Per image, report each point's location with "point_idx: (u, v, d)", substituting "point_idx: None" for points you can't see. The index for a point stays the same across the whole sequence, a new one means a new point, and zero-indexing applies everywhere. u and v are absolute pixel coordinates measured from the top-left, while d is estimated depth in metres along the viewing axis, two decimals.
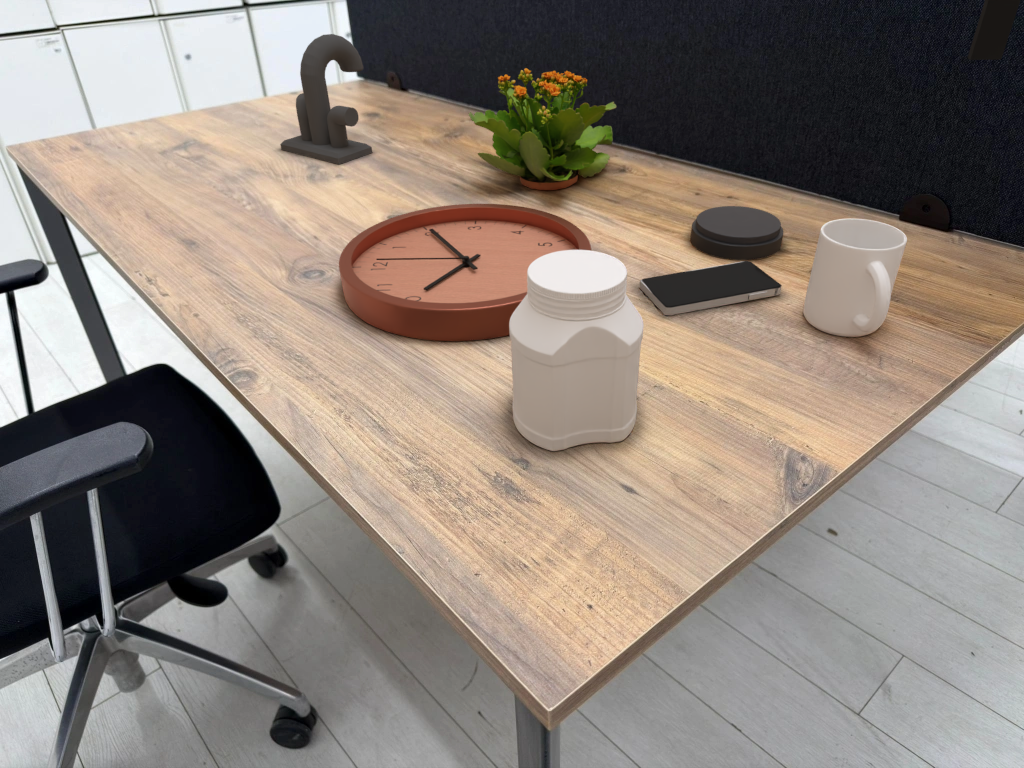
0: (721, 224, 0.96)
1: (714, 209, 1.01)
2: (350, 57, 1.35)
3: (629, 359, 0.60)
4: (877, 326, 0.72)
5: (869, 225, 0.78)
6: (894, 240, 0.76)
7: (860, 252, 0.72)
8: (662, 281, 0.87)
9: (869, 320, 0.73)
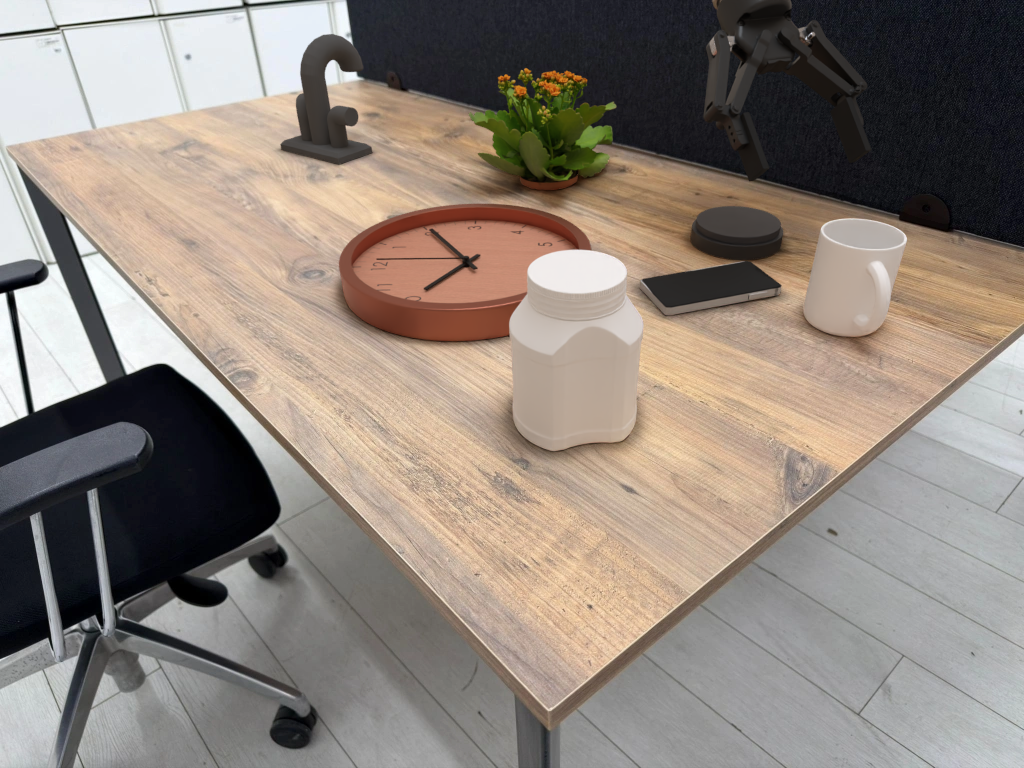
0: (721, 224, 0.96)
1: (714, 209, 1.01)
2: (350, 57, 1.35)
3: (629, 359, 0.60)
4: (877, 326, 0.72)
5: (869, 225, 0.78)
6: (894, 240, 0.76)
7: (860, 252, 0.72)
8: (662, 281, 0.87)
9: (869, 320, 0.73)
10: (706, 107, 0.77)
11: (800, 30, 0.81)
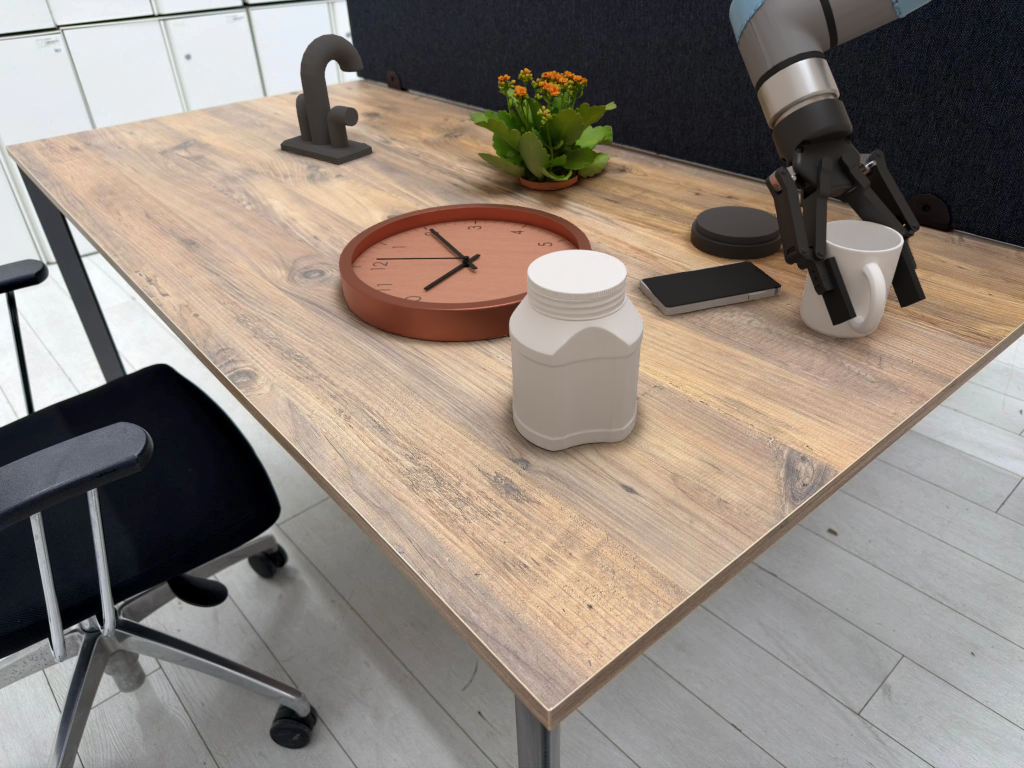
0: (721, 224, 0.96)
1: (714, 209, 1.01)
2: (350, 57, 1.35)
3: (629, 359, 0.60)
4: (872, 328, 0.72)
5: (866, 227, 0.77)
6: (892, 242, 0.75)
7: (855, 254, 0.72)
8: (662, 281, 0.87)
9: (864, 322, 0.72)
10: (786, 250, 0.74)
11: (862, 156, 0.78)
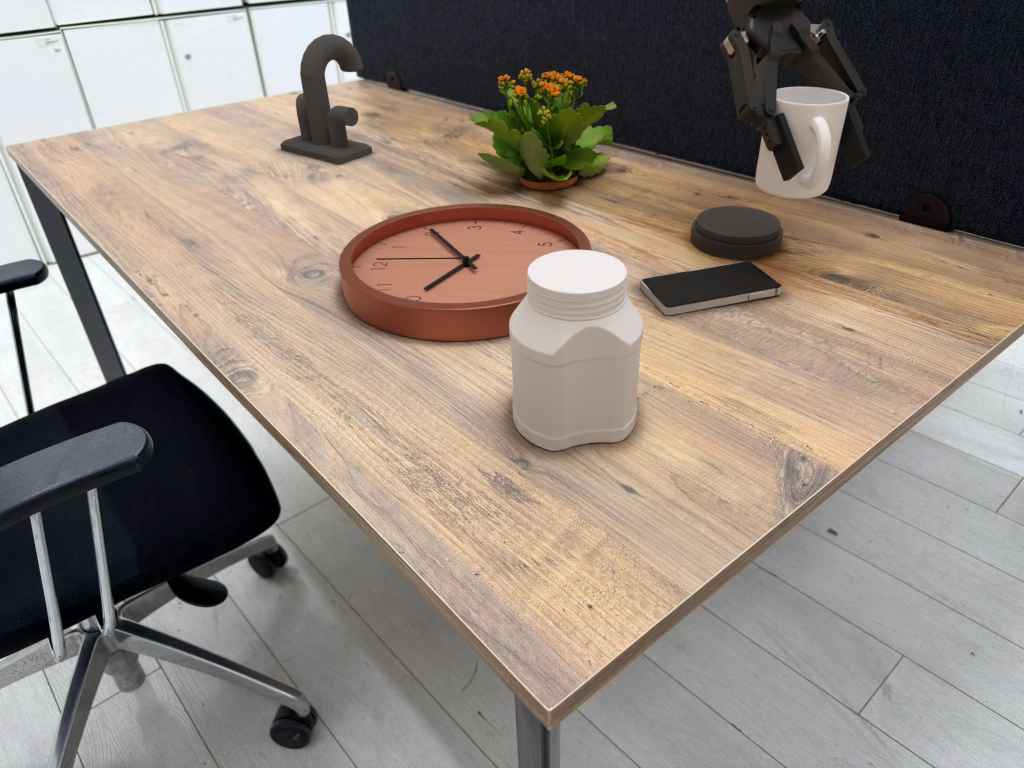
0: (721, 224, 0.96)
1: (714, 209, 1.01)
2: (350, 57, 1.35)
3: (629, 359, 0.60)
4: (819, 179, 0.76)
5: (816, 92, 0.81)
6: None
7: (803, 108, 0.76)
8: (662, 281, 0.87)
9: (812, 174, 0.76)
10: (739, 109, 0.78)
11: (812, 26, 0.82)
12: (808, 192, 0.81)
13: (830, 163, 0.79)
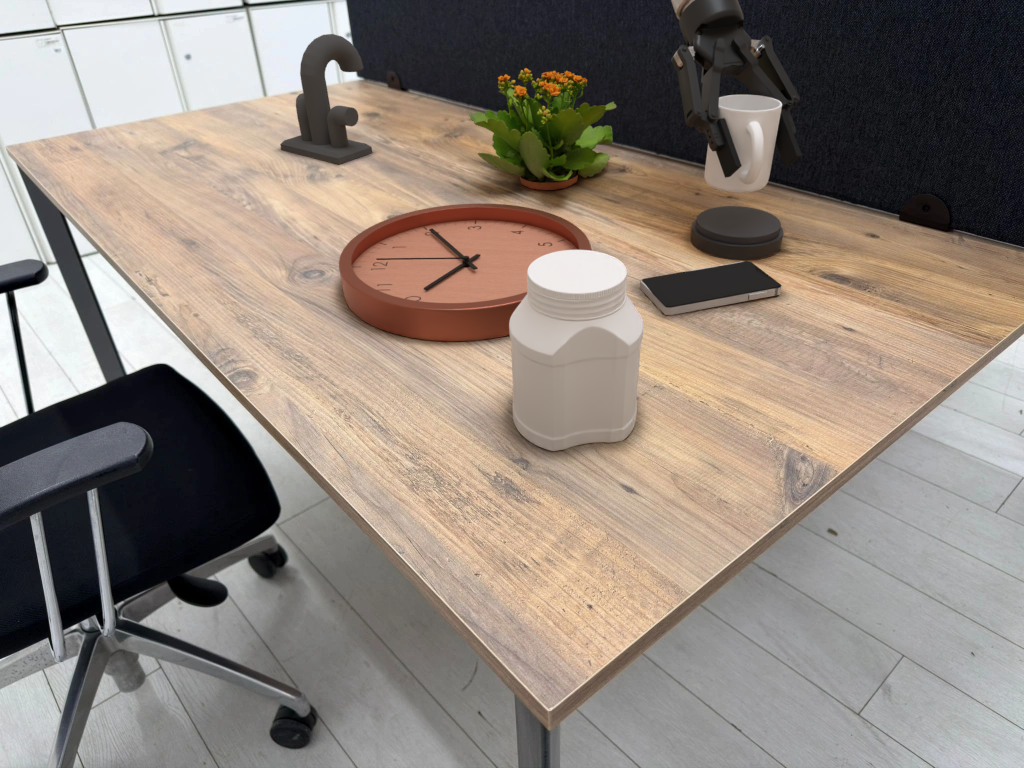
0: (721, 224, 0.96)
1: (714, 209, 1.01)
2: (350, 57, 1.35)
3: (629, 359, 0.60)
4: (754, 176, 0.88)
5: (756, 100, 0.93)
6: None
7: (740, 114, 0.87)
8: (662, 281, 0.87)
9: (748, 171, 0.88)
10: (686, 114, 0.90)
11: (753, 41, 0.93)
12: (748, 187, 0.92)
13: (766, 161, 0.91)
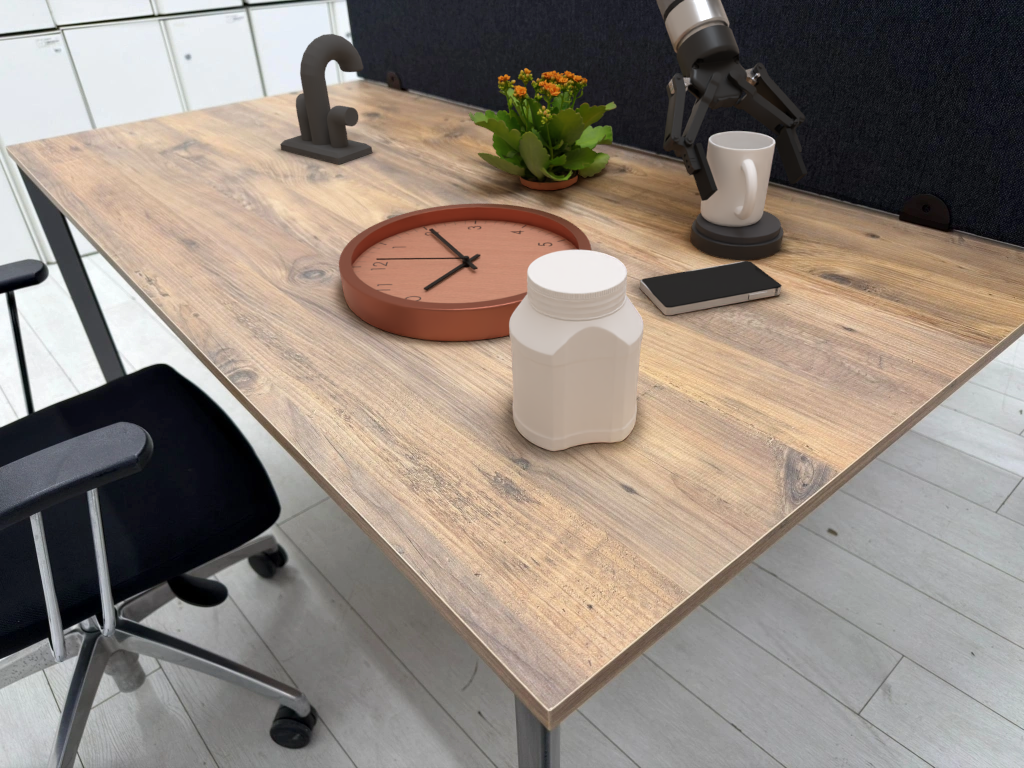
0: None
1: None
2: (350, 57, 1.35)
3: (629, 359, 0.60)
4: (749, 212, 0.90)
5: (750, 136, 0.95)
6: None
7: (734, 152, 0.90)
8: (662, 281, 0.87)
9: (743, 207, 0.90)
10: (665, 138, 0.92)
11: (747, 71, 0.95)
12: (743, 221, 0.95)
13: (760, 197, 0.93)
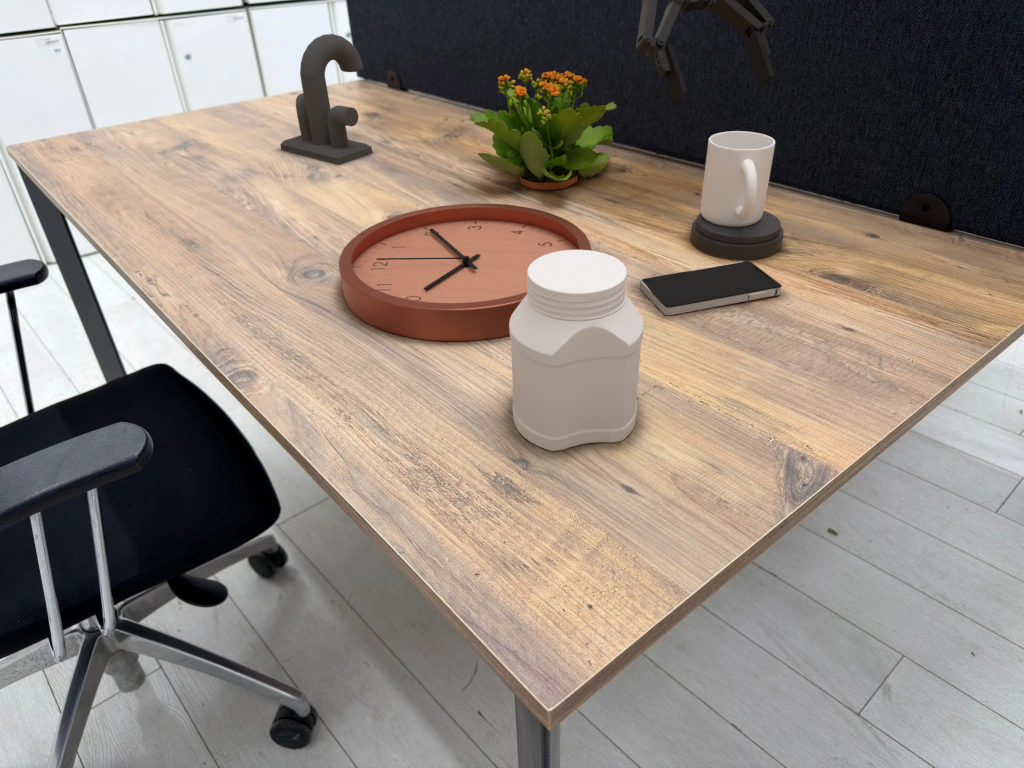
0: None
1: None
2: (350, 57, 1.35)
3: (629, 359, 0.60)
4: (749, 212, 0.90)
5: (750, 136, 0.95)
6: None
7: (734, 152, 0.90)
8: (662, 281, 0.87)
9: (743, 207, 0.90)
10: (638, 39, 0.94)
11: None
12: (743, 221, 0.95)
13: (760, 197, 0.93)
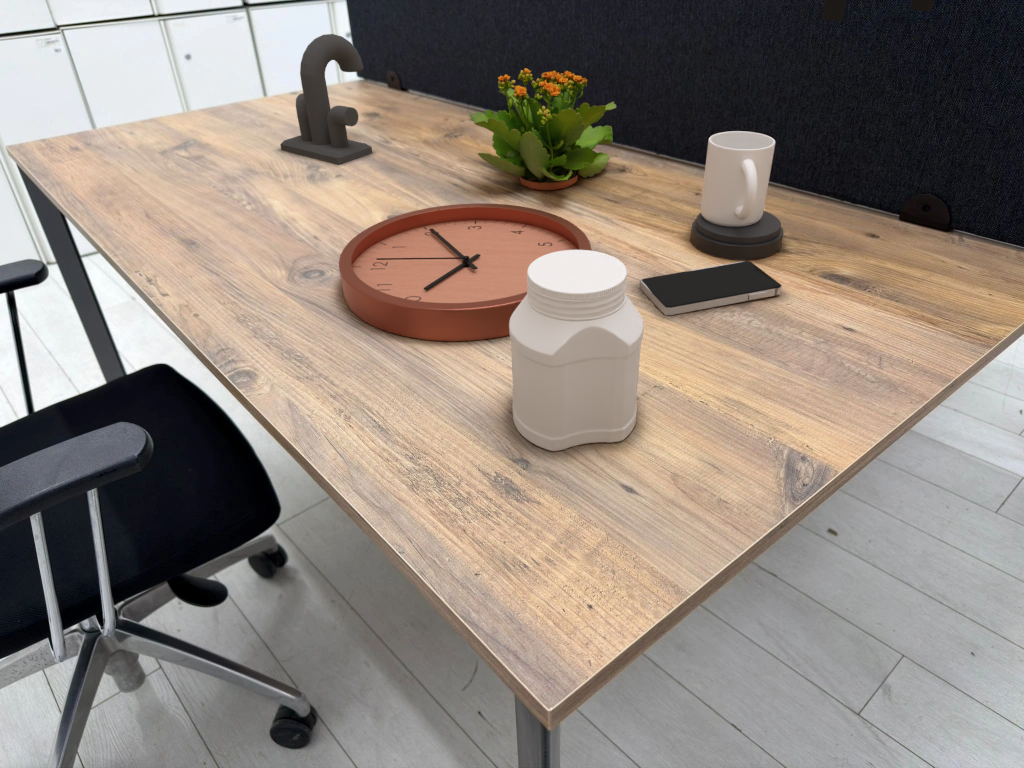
0: None
1: None
2: (350, 57, 1.35)
3: (629, 359, 0.60)
4: (749, 212, 0.90)
5: (750, 136, 0.95)
6: None
7: (734, 152, 0.90)
8: (662, 281, 0.87)
9: (743, 207, 0.90)
10: None
11: None
12: (743, 221, 0.95)
13: (760, 197, 0.93)
